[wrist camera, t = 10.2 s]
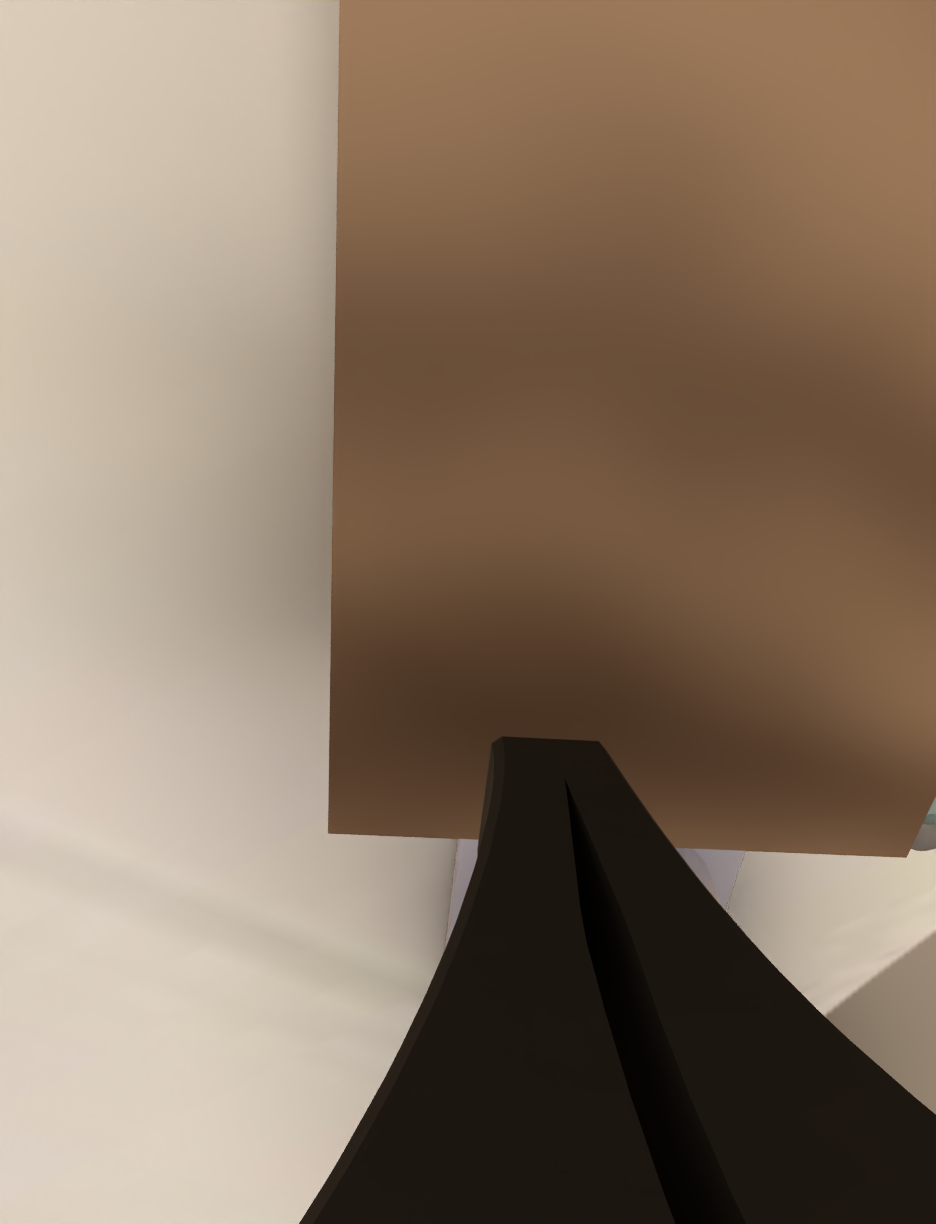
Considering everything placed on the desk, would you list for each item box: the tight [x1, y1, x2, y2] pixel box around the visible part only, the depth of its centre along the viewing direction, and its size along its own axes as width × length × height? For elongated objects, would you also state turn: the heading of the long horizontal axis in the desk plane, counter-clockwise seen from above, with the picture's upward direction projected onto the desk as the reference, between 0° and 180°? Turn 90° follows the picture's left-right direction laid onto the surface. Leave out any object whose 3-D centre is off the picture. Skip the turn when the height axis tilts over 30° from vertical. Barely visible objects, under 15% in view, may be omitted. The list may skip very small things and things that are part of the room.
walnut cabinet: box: [328, 0, 936, 858], centre depth 15 cm, size 16×11×6 cm
